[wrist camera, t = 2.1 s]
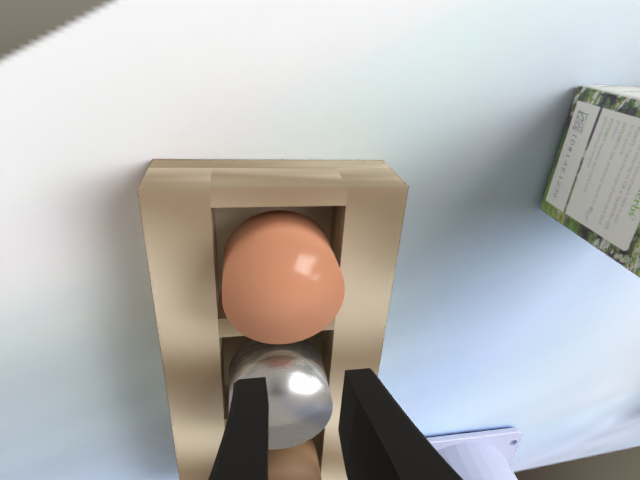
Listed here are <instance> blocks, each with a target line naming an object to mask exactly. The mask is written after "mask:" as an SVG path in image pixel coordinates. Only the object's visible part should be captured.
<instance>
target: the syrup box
mask: <svg viewBox="0 0 640 480" xmlns="http://www.w3.org/2000/svg"><path fill="white" fill-rule="evenodd" d="M540 207H541V210H542V211H544V212H545V213H546V214H548V215H549V216H551V217H552V218H554V219H555V220H556V221H558V222H560V223H561V224H562V225H564V226H565V227H567V228H568V229H570V230H571V231H573V232H574V233H575V234H577V235H578V236H580V237H581V238H583V239H584V240H586V241H587V242H589V243H590V244H591V245H593V246H594V247H596V248H597V249H599V250H600V251H602V252H603V253H605V254H606V255H607V256H609V257H610V258H612V259H614V260H615V261H616V262H618V263H619V264H621V265H622V266H624V267H625V268H626V269H628V270H629V271H631V272H632V273H634V274H636V275H637V276H638V277H640V86H611V85H582V86H579V87H578V88H577V91H576V94H575V97H574V101H573V104H572V107H571V110H570V113H569V117H568V120H567V123H566V126H565V130H564V133H563V136H562V139H561V142H560V146H559V149H558V152H557V155H556V158H555V161H554V165H553V168H552V171H551V174H550V177H549V180H548V183H547V186H546V190H545V192H544V196H543V199H542V203H541V206H540Z"/></svg>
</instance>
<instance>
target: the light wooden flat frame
mask: <svg viewBox="0 0 640 480" xmlns="http://www.w3.org/2000/svg"><path fill="white" fill-rule="evenodd" d="M408 187H409V186H408V185H407V184H406V183H405V182H404V181H403V180H402V179H401V178H400V177H399V176H398V175H397V174H396V173H395V172H394V171H393V170H392V169H391V168H390V167H389V166H388V165H387V164H386V163H385V162H384V161H383V160H206V159H153V160H152V162H151V164H150V165H149V167H148V169H147V171H146V173H145V175H144V177H143V179H142V180H141V182H140V184H139V186H138V188H137V190H138V197H139V204H140V210H141V217H142V224H143V231H144V238H145V245H146V252H147V259H148V265H149V272H150V279H151V286H152V293H153V300H154V307H155V314H156V321H157V327H158V334H159V341H160V348H161V355H162V362H163V369H164V376H165V382H166V389H167V396H168V403H169V410H170V417H171V424H172V431H173V438H174V444H175V451H176V458H177V465H178V472H179V479H180V480H208V479H209V476H210V473H211V471H212V468H213V465H214V462H215V459H216V456H217V452H218V449H219V446H220V443H221V440H222V437H223V434H224V430H225V426H226V423H227V419H228V415H229V368H230V363H231V361H232V359H233V357H234V355H235V354H236V353H237V351H238V350H239V349H240V348H241V347H242V346H244V345H245V344H246V343H248V342H249V341H251V340H253V339H251V338H248V337H246V336H245V335H243V334H241V333H240V332H239V331H238V330H236V329H235V328H234V326H233V325H232V324H231V323H230V322H229V320H228V319H227V317H226V315H225V312H224V309H223V305H222V279H223V255H224V249H225V246H226V243H227V241H228V239H229V237H230V236H231V234H232V233H233V231H234V230H235V229H236V228H237V227H238V226H239V225H240V224H242V223H243V222H244V221H246V220H247V219H249V218H250V217H253V216H255V215H257V214H260V213H263V212H267V211H273V210H287V211H293V212H297V213H300V214H303V215H305V216H307V217H309V218H310V219H312V220H313V221H314V222H316V223H317V224H318V225H319V226H320V227H321V228H322V230H323V231H324V232H325V234H326V236H327V238H328V240H329V243H330V245H331V248H332V250H333V253H334V255H335V258H336V260H337V262H338V265H339V267H340V270H341V272H342V275H343V278H344V283H345V295H344V300H343V303H342V306H341V308H340V310H339V312H338V314H337V315H336V317H335V318H334V319H333V320H332V322H331V323H330V324H329V325H328V326H327V327H325V328H324V329H323V330H321V331H320V332H319V333H317V334H315V335H314V336H312V337H309V338H307V340H309V341H310V342H311V343H313V344H314V345H315V346H316V348H317V349H318V351H319V352H320V355H321V358H322V362H323V366H324V370H325V374H326V378H327V382H328V386H329V390H330V394H331V398H332V403H333V411H332V415H331V418H330V420H329V422H328V424H327V425H326V426H325V428H324V429H323V430H322V431H321V432H320V433H318V434H317V435H316V436H315V437H313V439H314V442H315V447H316V452H317V457H318V463H319V468H320V473H321V479H322V480H348V479H347V475H346V470H345V465H344V460H343V455H342V449H341V443H340V438H339V432H338V426H339V418H340V409H341V400H342V391H343V383H344V374H345V370H353V369H365V368H370V369H371V370H373V371H374V373H375V374H376V375H377V377H378V371H379V365H380V359H381V353H382V347H383V341H384V334H385V328H386V322H387V316H388V310H389V304H390V298H391V292H392V285H393V279H394V273H395V267H396V261H397V255H398V249H399V243H400V236H401V230H402V224H403V218H404V212H405V206H406V200H407V194H408Z"/></svg>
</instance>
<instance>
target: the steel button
mask: <svg viewBox="0 0 640 480" xmlns="http://www.w3.org/2000/svg"><path fill="white" fill-rule="evenodd" d="M259 377H266V385H267V393H268V402H269V450H276V449H285V448H290V447H294V446H297V445H300V444H302V443H304V442H306V441H308V440H310V439H312V438H313V437H315V436H316V435H317V434H318V433H320V432H321V431H322V430H323V429H324V428H325V426H326V425H327V424H328V422H329V420H330V418H331V415H332V411H333V403H332V398H331V394H330V390H329V386H328V382H327V378H326V374H325V370H324V366H323V362H322V358H321V355H320V352H319V351H318V349H317V348H316V346H315V345H314V344H313V343H311V342H310V341H309V340H307V339H305V340H302V341H299V342H294V343H289V344H268V343H262V342H259V341H255V340H251V341H249V342H248V343H246V344H245V345H244V346H242V347H241V348H240V349H239V350H238V351H237V353H236V354H235V355H234V357H233V359H232V361H231V363H230V368H229V411H230V406H231V401H232V395H233V384H234V383H235V382H236V381H237V380H238V379H248V378H259Z"/></svg>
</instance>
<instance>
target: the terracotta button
mask: <svg viewBox="0 0 640 480" xmlns="http://www.w3.org/2000/svg"><path fill="white" fill-rule="evenodd" d="M344 295H345V283H344V278H343V275H342V272H341V270H340V267H339V265H338V262H337V260H336V258H335V255H334V253H333V250H332V248H331V245H330V243H329V240H328V238H327V236H326V234H325V232H324V231H323V230H322V228H321V227H320V226H319V225H318V224H317V223H316V222H314V221H313V220H312V219H310V218H309V217H307V216H305V215H303V214H300V213H297V212H293V211H287V210H273V211H267V212H263V213H260V214H257V215H255V216H253V217H250V218H249V219H247V220H246V221H244V222H243V223H242V224H240V225H239V226H238V227H237V228H236V229H235V230H234V231H233V233H232V234H231V236H230V237H229V239H228V241H227V243H226V246H225V249H224V255H223V279H222V305H223V309H224V312H225V315H226V317H227V319H228V320H229V322H230V323H231V324H232V325H233V326H234V328H235V329H236V330H238V331H239V332H240V333H241V334H243V335H245V336H246V337H248V338H251V339H253V340H255V341H259V342H262V343H268V344H289V343H294V342H299V341H302V340H305V339H307V338H309V337H312V336H314V335H315V334H317V333H319V332H320V331H321V330H323V329H324V328H325V327H327V326H328V325H329V324H330V323H331V322H332V320H333V319H334V318H335V317H336V315H337V314H338V312H339V310H340V308H341V306H342V303H343V300H344Z"/></svg>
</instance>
